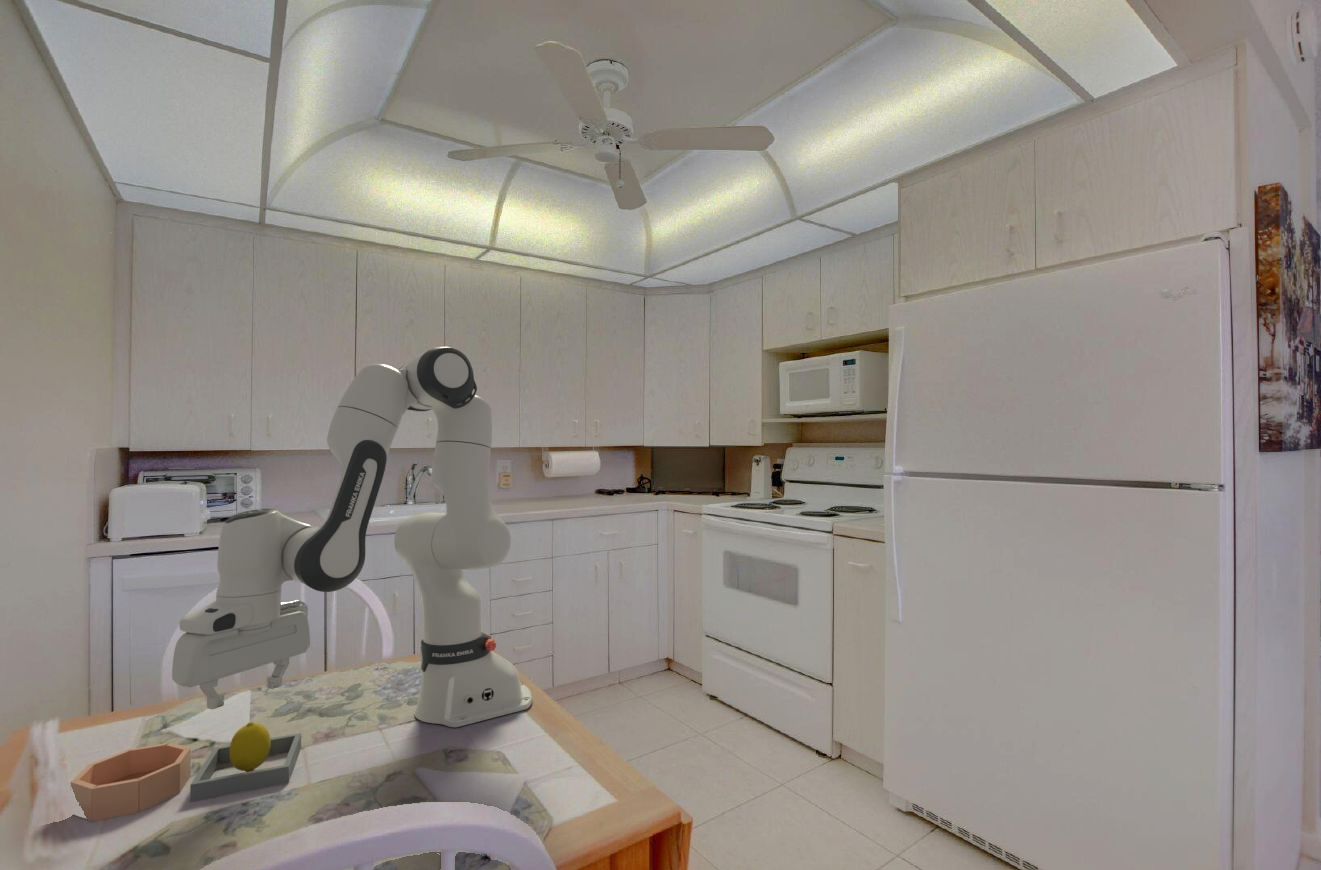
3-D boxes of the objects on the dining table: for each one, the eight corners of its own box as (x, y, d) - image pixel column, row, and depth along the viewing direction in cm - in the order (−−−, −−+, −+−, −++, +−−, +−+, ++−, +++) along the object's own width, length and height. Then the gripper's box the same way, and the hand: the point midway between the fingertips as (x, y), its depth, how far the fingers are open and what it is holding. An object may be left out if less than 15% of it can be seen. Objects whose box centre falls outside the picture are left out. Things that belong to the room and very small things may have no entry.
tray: (301, 747, 107) (301, 732, 107) (288, 782, 95) (288, 766, 95) (214, 762, 102) (214, 747, 102) (190, 801, 90) (190, 784, 91)
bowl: (197, 765, 101) (197, 737, 101) (170, 805, 89) (171, 774, 90) (99, 782, 96) (99, 753, 96) (56, 828, 84) (57, 794, 85)
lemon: (250, 783, 95) (250, 731, 96) (220, 779, 97) (220, 728, 97) (278, 765, 101) (278, 716, 101) (250, 762, 102) (250, 713, 102)
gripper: (294, 596, 110) (292, 674, 109) (167, 622, 91) (163, 717, 91) (319, 598, 108) (317, 678, 107) (194, 626, 89) (190, 723, 88)
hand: (246, 696), depth 99 cm, fingers open, 8 cm apart
